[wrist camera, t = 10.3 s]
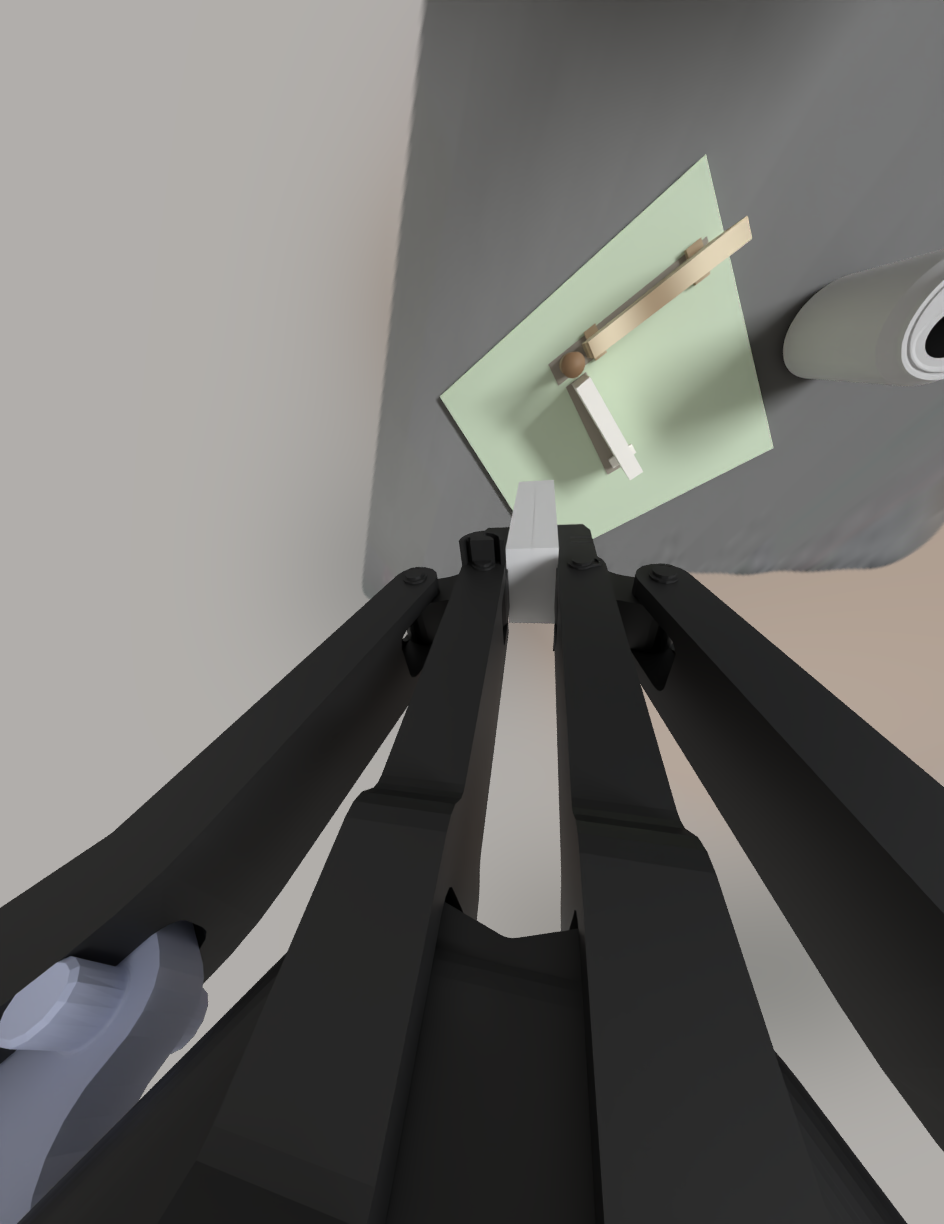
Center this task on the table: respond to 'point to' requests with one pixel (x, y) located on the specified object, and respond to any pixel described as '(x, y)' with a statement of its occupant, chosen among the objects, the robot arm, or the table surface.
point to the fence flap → (607, 427)
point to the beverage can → (874, 326)
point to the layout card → (623, 376)
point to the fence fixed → (659, 295)
